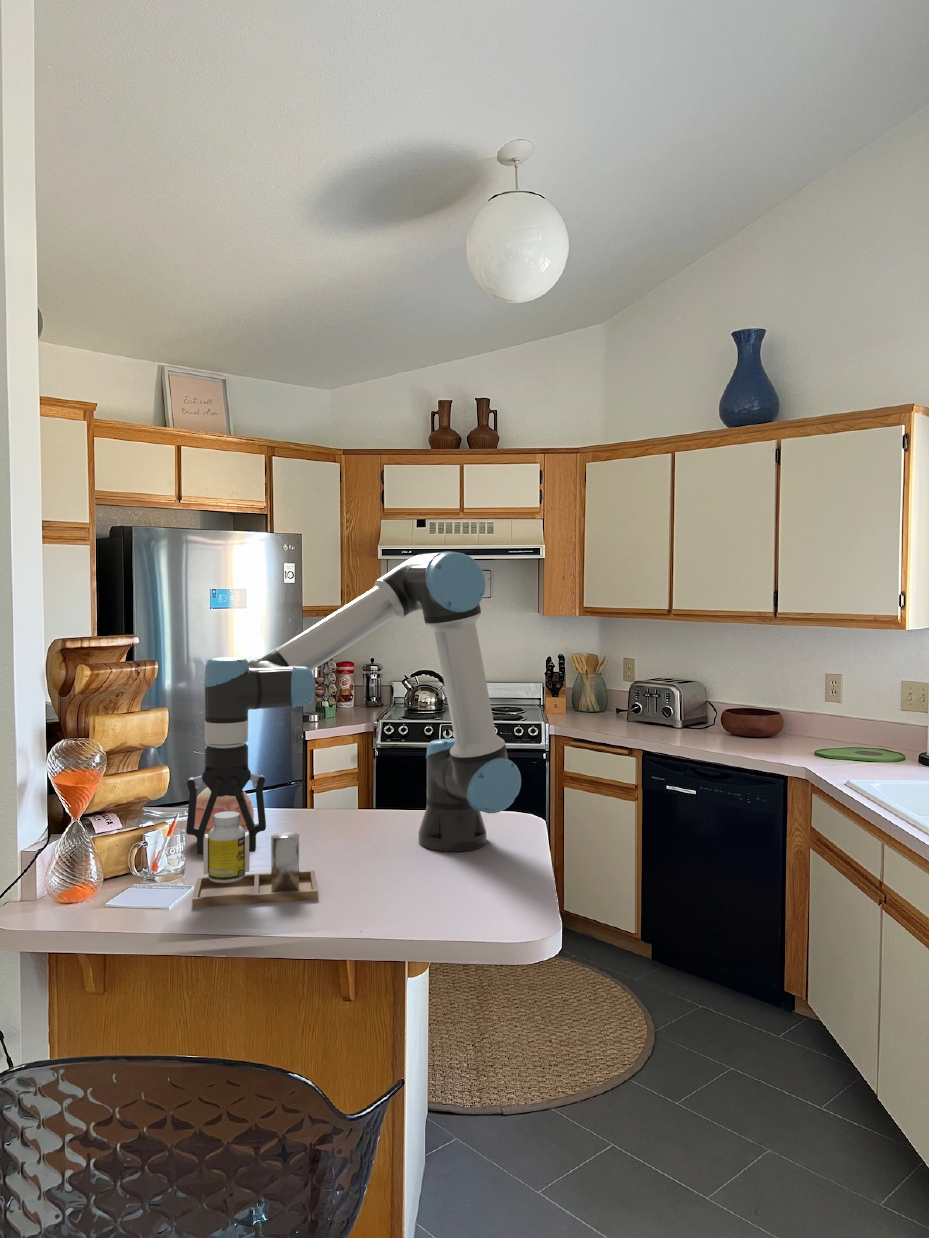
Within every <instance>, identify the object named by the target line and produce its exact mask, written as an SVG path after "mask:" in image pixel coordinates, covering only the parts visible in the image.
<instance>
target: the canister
mask: <svg viewBox="0 0 929 1238" xmlns="http://www.w3.org/2000/svg"><path fill="white" fill-rule="evenodd" d="M270 838H271V839H270V845H271V846H270V847H271V848H270V853H271V854H270V859H271V861H270V865H271V866H270V867H271V868H270V870H271V871H270V873H271V892H285V891H299V871H300V835H299V834H298V833H296V832H290V831H288V832H287V831H284V832H278V833H275V834H274V833H273V834H272V835H271V837H270Z"/></svg>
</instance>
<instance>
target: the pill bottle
mask: <svg viewBox="0 0 929 1238" xmlns="http://www.w3.org/2000/svg"><path fill="white" fill-rule="evenodd" d="M239 822H240V814H239V813H238V812H231V811H228V812H219V813H216V814H214V815H213V823H214V824H215V827H214V828H212V829H211V830H210V831H209V833H208V874H207V875H208V876H207V877H209V879H210V880H211V881H213V882H217V883H231V882H235V881H238V880H241V879H242V878H243V877H244V876H245V874H246V872H245V831H244V829H243V828H242V827H241V826H239Z"/></svg>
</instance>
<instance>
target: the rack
mask: <svg viewBox="0 0 929 1238" xmlns="http://www.w3.org/2000/svg"><path fill="white" fill-rule="evenodd" d="M315 871H316V870H315V869H310V870H299V891H285V892H271V872H260V873H245V876H244V877H243V878H242V879H241V880H238V881H235V882H231V883H217V882H213V881H211V880H210V879H209V877H208V876H198V877H197V879H196V883H195V887H194V892H193V895H192V901H191V903H192V904H191V907H192V909H198V908H199V909H200V908H215V907H226V906H228V907H229V906H242V905H243V906H245V905H256V904H270V903H271V904H272V903H273V904H274V903H285V902H286V903H287V902H300V901H301V902H302V901H313V900H319V899H318V896H319V895H318V891H319V889H318V886H317V878H316V872H315Z"/></svg>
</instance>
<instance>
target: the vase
mask: <svg viewBox="0 0 929 1238" xmlns="http://www.w3.org/2000/svg"><path fill="white" fill-rule="evenodd" d="M243 792H244V796H245V799H246V801H247V804H248V807H249V810H250V813H251V815H252V818H253V820H254V817H255V812H254V811H255V810H254V806H253V802H252V800H251V798H250V796H249V795H248V794H247V793H246V792H245V791H244V790H243ZM210 794H211V791H210V789H209V788H208V787H207V786H206V788H205V787H204V789H203V790H202V791H201V792H199V794H197V805H196V816H195V827H199V826H200V823H201V820H202V817H203V814H204V812H205V809H206V806H207V803H208V800H209V797H210ZM228 811H231V812H238V813H239V814H240V822H239V826H241V827H242V828H243V829H244V831H245V832H248V829H247V826H246V823H245V821H244V818H243V815H242V812H241V810H240V807H239V804H238V802H237V800H236V797H235V796H227V795H226V796H222V797H217V799H216V802H215V804H214V807H213V810H212V813H211V816H210V819H209V822H208V824H207V827H206V830H205V834H208V833H209V831H210V830H211V829H212V828H214V827H215V824H214V823H213V815H214V814H216V813H219V812H228Z"/></svg>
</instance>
